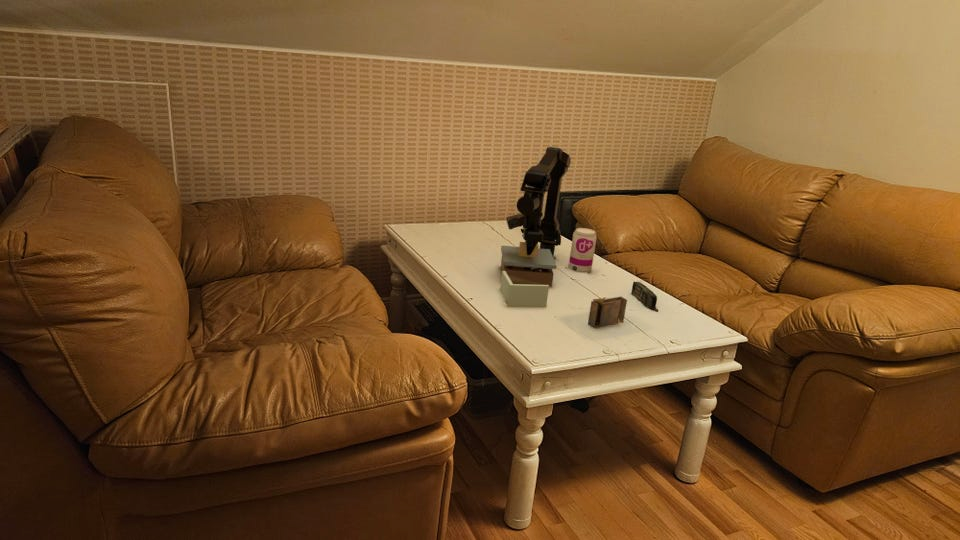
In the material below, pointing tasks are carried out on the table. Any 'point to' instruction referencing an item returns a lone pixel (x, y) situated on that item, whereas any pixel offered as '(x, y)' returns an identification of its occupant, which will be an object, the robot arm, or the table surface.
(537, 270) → the grey metal cylinder
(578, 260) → the supplement can
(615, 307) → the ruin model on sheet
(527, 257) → the lid
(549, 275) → the box
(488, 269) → the table surface
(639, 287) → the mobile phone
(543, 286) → the right angle wall
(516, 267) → the terracotta cube
